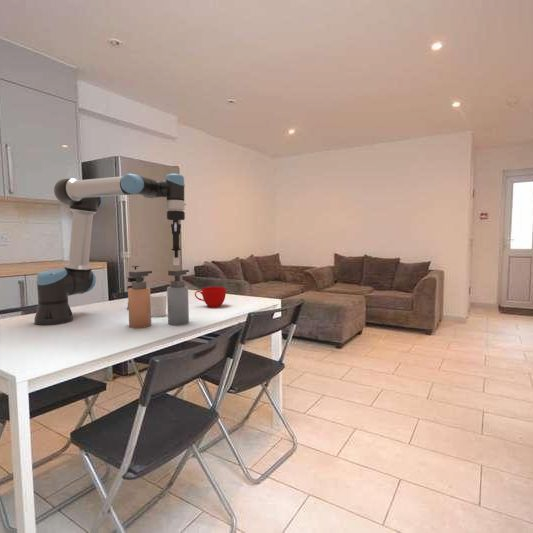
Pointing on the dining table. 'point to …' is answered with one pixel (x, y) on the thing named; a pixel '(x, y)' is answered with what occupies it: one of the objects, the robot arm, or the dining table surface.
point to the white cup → (158, 305)
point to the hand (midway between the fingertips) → (176, 265)
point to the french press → (133, 280)
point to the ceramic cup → (213, 296)
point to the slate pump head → (177, 273)
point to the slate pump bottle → (178, 303)
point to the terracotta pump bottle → (139, 305)
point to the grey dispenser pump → (139, 275)
